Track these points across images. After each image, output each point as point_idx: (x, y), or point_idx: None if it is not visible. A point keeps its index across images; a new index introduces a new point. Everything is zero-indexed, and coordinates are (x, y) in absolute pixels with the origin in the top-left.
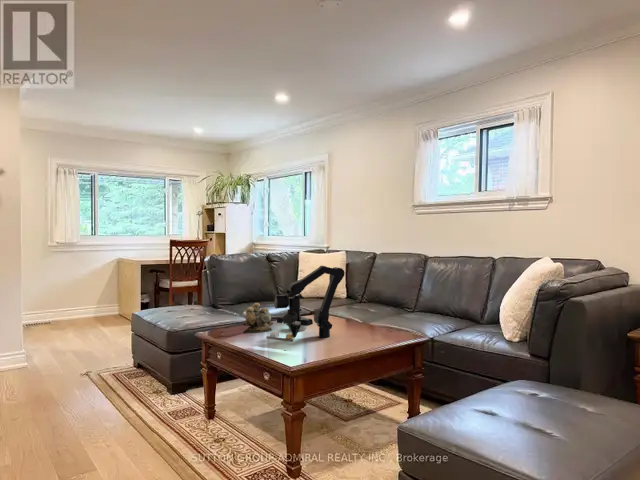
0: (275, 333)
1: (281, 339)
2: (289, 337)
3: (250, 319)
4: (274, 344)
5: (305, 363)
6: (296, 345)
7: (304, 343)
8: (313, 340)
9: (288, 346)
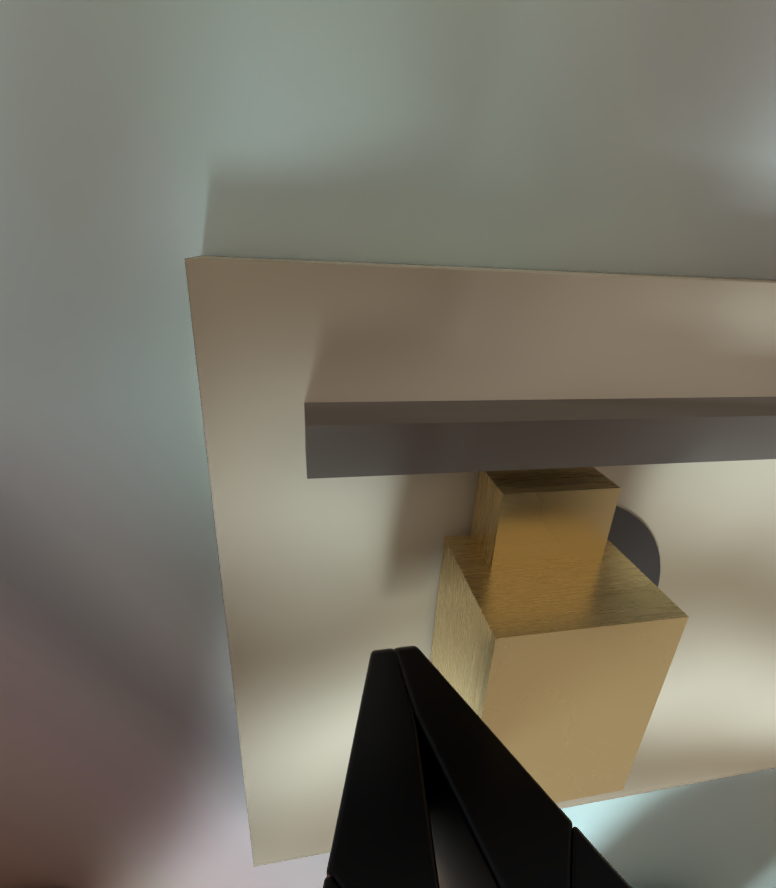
0: None
1: (696, 405)
2: (516, 571)
3: None
4: (761, 104)
5: None
6: (89, 304)
7: (62, 592)
8: (91, 839)
9: (238, 34)
